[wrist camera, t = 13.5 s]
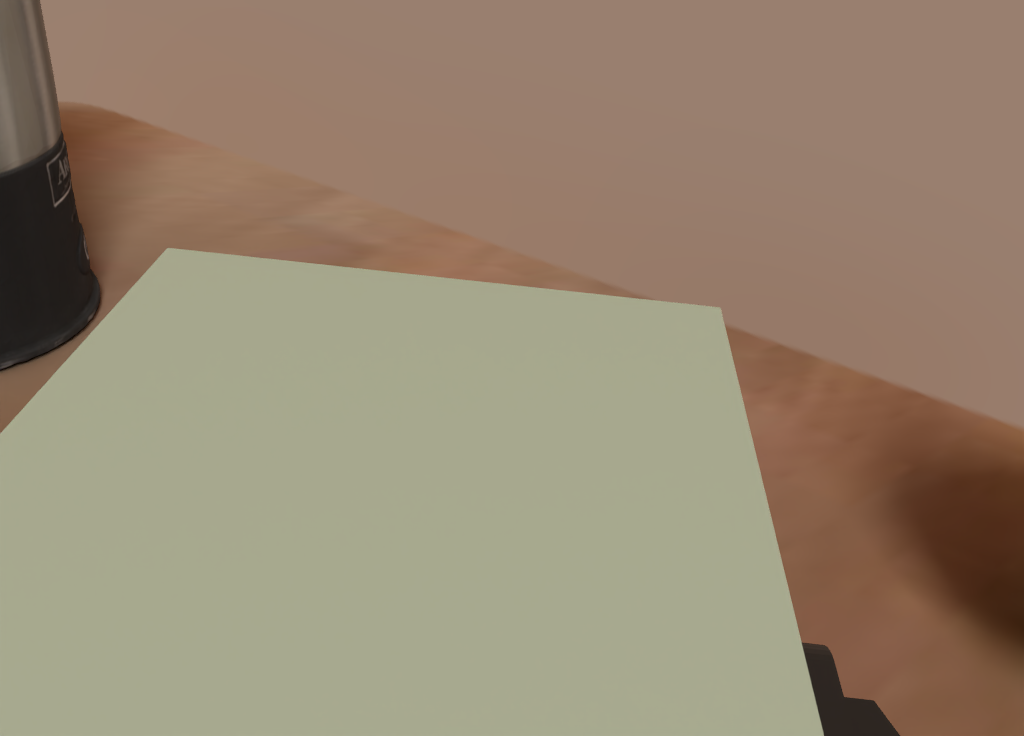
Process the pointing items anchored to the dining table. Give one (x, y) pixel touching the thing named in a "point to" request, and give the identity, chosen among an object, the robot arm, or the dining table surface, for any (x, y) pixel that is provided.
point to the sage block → (391, 517)
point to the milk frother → (36, 200)
